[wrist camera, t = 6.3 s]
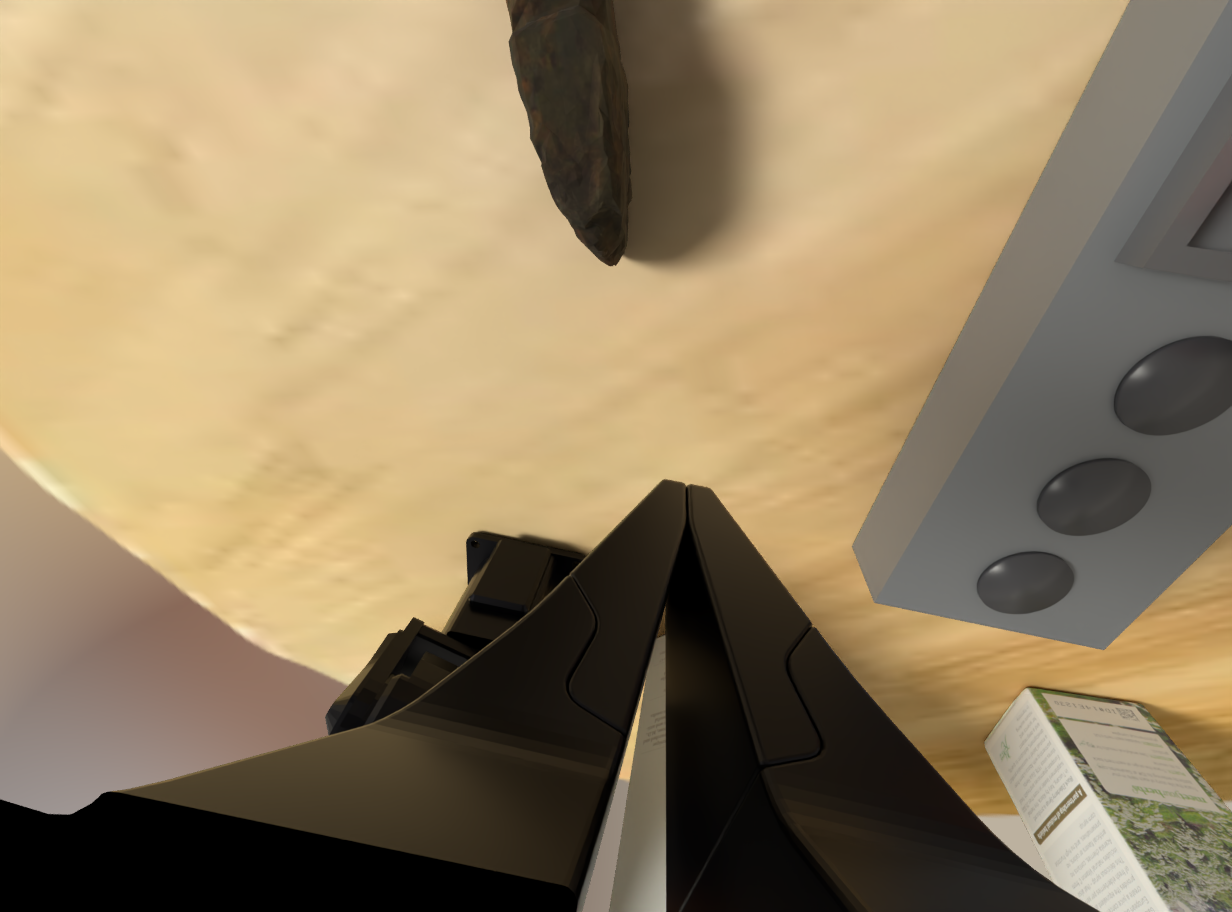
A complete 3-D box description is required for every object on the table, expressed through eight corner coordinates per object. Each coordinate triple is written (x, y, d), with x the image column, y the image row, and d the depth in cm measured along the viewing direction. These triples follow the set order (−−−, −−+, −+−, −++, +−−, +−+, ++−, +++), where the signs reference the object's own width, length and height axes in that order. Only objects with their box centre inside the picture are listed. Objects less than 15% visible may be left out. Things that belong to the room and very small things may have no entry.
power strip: (1050, 585, 22) (1122, 672, 18) (851, 546, 23) (882, 622, 19) (1634, -109, 11) (2139, -260, 7) (1208, -153, 11) (1463, -317, 8)
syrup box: (978, 743, 29) (1189, 1182, 16) (1024, 680, 26) (1327, 1161, 13) (1085, 760, 28) (1391, 1232, 16) (1146, 697, 25) (1586, 1222, 12)
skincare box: (810, 687, 28) (898, 1107, 16) (723, 715, 31) (737, 1095, 18) (727, 598, 26) (750, 1011, 13) (639, 637, 28) (589, 1014, 16)
